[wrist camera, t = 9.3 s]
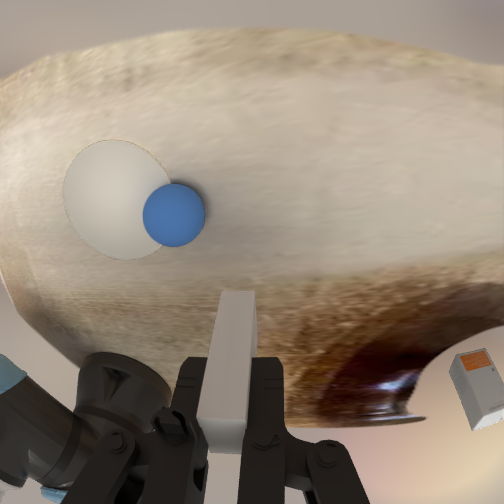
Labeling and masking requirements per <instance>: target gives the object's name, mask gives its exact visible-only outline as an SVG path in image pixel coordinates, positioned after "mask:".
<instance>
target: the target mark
mask: <svg viewBox="0 0 504 504" xmlns="http://www.w3.org/2000/svg"><path fill="white" fill-rule="evenodd" d="M168 184H172V183H171V181H170V179H169V177H168V175H167V173H166V171H165V170H164V168H163V167H162V165H161V164H160V163H159V162H158V161H157V160H156V159H155V158H154V157H153V156H152V155H151V154H150V153H148V152H147V151H146V150H144V149H143V148H141V147H139V146H137V145H135V144H132V143H129V142H126V141H121V140H105V141H100V142H97V143H94V144H92V145H90V146H88V147H86V148H85V149H83V150H82V151H81V152H80V153H79V154H78V155H77V156H76V157H75V158H74V159H73V161H72V162H71V164H70V166H69V168H68V170H67V172H66V176H65V179H64V185H63V199H64V205H65V210H66V213H67V216H68V218H69V220H70V223H71V224H72V226H73V228H74V230H75V231H76V232H77V234H78V235H79V236H80V237H81V238H82V240H83V241H84V242H86V243H87V244H88V245H89V246H90V247H92V248H93V249H94V250H96V251H98V252H99V253H101V254H103V255H106V256H108V257H111V258H115V259H121V260H135V259H140V258H143V257H146V256H148V255H150V254H152V253H154V252H155V251H156V250H158V249H159V248H160V247H161V246H162V245H161V244H159V243H157V242H156V241H154V240H153V239H152V238H151V237H150V236H149V234H148V233H147V231H146V229H145V227H144V224H143V208H144V205H145V202H146V200H147V199H148V197H149V196H150V195H151V193H153V192H154V191H155V190H156V189H158V188H159V187H161V186H164V185H168Z"/></svg>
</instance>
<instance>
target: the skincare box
mask: <svg viewBox="0 0 504 504" xmlns="http://www.w3.org/2000/svg"><path fill="white" fill-rule="evenodd" d="M449 373H450V376H451V378H452V380H453V383H454V385H455V388H456V390H457V392H458V395H459V397H460V400H461V402H462V405H463V408H464V410H465V413H466V415H467V418H468V421H469V424H470V427H471V430H472V431H474V430H477V429H480V428H484V427H487V426H490V425H491V424H494V423H496V422H499V421H501V420H503V419H504V383H503V381H502V379H501V377H500V375H499V373H498V371H497V369H496V367H495V365H494V363H493V361H492V360H491V358H490V356H489V354H488V352H487V351H486V349H485V348H483V349H480V350H476V351H472V352H467V353H462V354H457V355H456V356H455V359H454V361H453V363H452V366H451V368H450V370H449Z"/></svg>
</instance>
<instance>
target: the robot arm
mask: <svg viewBox="0 0 504 504" xmlns="http://www.w3.org/2000/svg"><path fill="white" fill-rule="evenodd" d="M257 341H258V330H257V314H256V299H255V291H221V296H220V301H219V306H218V310H217V315H216V320H215V325H214V330H213V335H212V339H211V344H210V349H209V354H208V357H188V358H187V359H186V360H185V362H184V363H183V364H182V365H181V367H180V371H179V375H178V379H177V382H176V387H175V390H174V394H173V398H172V401H171V392H170V389H169V387H168V385H167V384H166V383H165V381H164V380H163V379H162V378H161V377H160V376H159V375H158V374H156V373H155V372H154V371H152V370H151V369H150V368H148V367H146V366H145V365H143V364H141V363H139V362H137V361H135V360H133V359H130V358H128V357H125V356H121V355H117V354H112V353H96V354H93V355H90V356H89V357H87V358H86V360H85V361H84V363H83V365H82V367H81V369H80V372H79V377H78V386H77V398H76V406H75V409H74V411H73V412H72V411H70V410H69V409H68V408H66V407H65V406H64V405H62V404H61V403H60V402H59V401H57V400H56V399H55V398H54V397H52V396H51V395H50V394H49V393H48V392H46V391H45V390H44V389H43V388H41V387H40V386H39V385H38V384H37V383H35V381H33V380H32V379H31V378H30V377H29V376H28V375H27V373H26V372H25V371H23V370H21V369H19V368H18V367H17V366H16V365H15V364H14V363H13V362H11V361H10V360H9V359H8V358H7V357H6V356H4V355H2V354H0V502H1V500H2V498H3V496H4V494H5V492H6V491H7V490H16V489H21V488H22V487H23V485H24V483H25V482H26V479H27V478H28V477H30V478H32V479H34V480H35V481H37V482H39V483H40V484H42V485H43V486H42V487H41V494H42V496H43V497H45V498H47V499H49V500H51V501H53V502H55V503H58V504H203V503H204V495H205V489H206V482H207V474H208V460H207V453H208V448H209V450H210V452H211V453H227V454H241V466H240V479H239V489H238V500H237V504H284V502H285V499H284V498H285V486H287V487H290V488H294V489H298V490H302V491H303V494H304V497H305V500H306V503H307V504H370V502H369V500H368V497H367V495H366V493H365V491H364V488H363V485H362V483H361V481H360V478H359V476H358V474H357V471H356V469H355V466H354V464H353V462H352V459H351V457H350V455H349V452H348V450H347V449H346V448H345V446H344V445H343V444H341V443H339V442H338V441H334V440H323V441H320V442H317V443H311V442H307V441H303V440H300V439H297V438H295V437H293V436H292V435H291V434H290V433H289V432H288V431H287V429H286V427H285V423H284V376H283V366H282V364H281V362H280V360H279V359H278V357H257ZM170 402H171V405H170ZM169 405H170V407H169ZM154 430H155V431H154Z"/></svg>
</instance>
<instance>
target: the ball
mask: <svg viewBox="0 0 504 504" xmlns="http://www.w3.org/2000/svg"><path fill="white" fill-rule="evenodd" d="M204 220H205V210H204V206H203V203H202V201H201V199H200V197H199V196H198V195H197V194H196V192H194V191H193V190H192V189H190V188H189V187H187V186H184V185H181V184H168V185H164V186H161V187H159V188H158V189H156V190H155V191H154V192H153V193H151V195H150V196H149V197H148V199H147V200H146V202H145V205H144V208H143V224H144V227H145V229H146V231H147V233H148V234H149V236H150V237H151V238H152V239H153V240H154V241H156V242H157V243H159V244H161V245H164V246H168V247H179V246H183V245H185V244H187V243H189V242H191V241H192V240H193V239H195V238H196V237H197V235H198V234H199V233H200V231H201V229H202V227H203V224H204Z"/></svg>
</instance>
